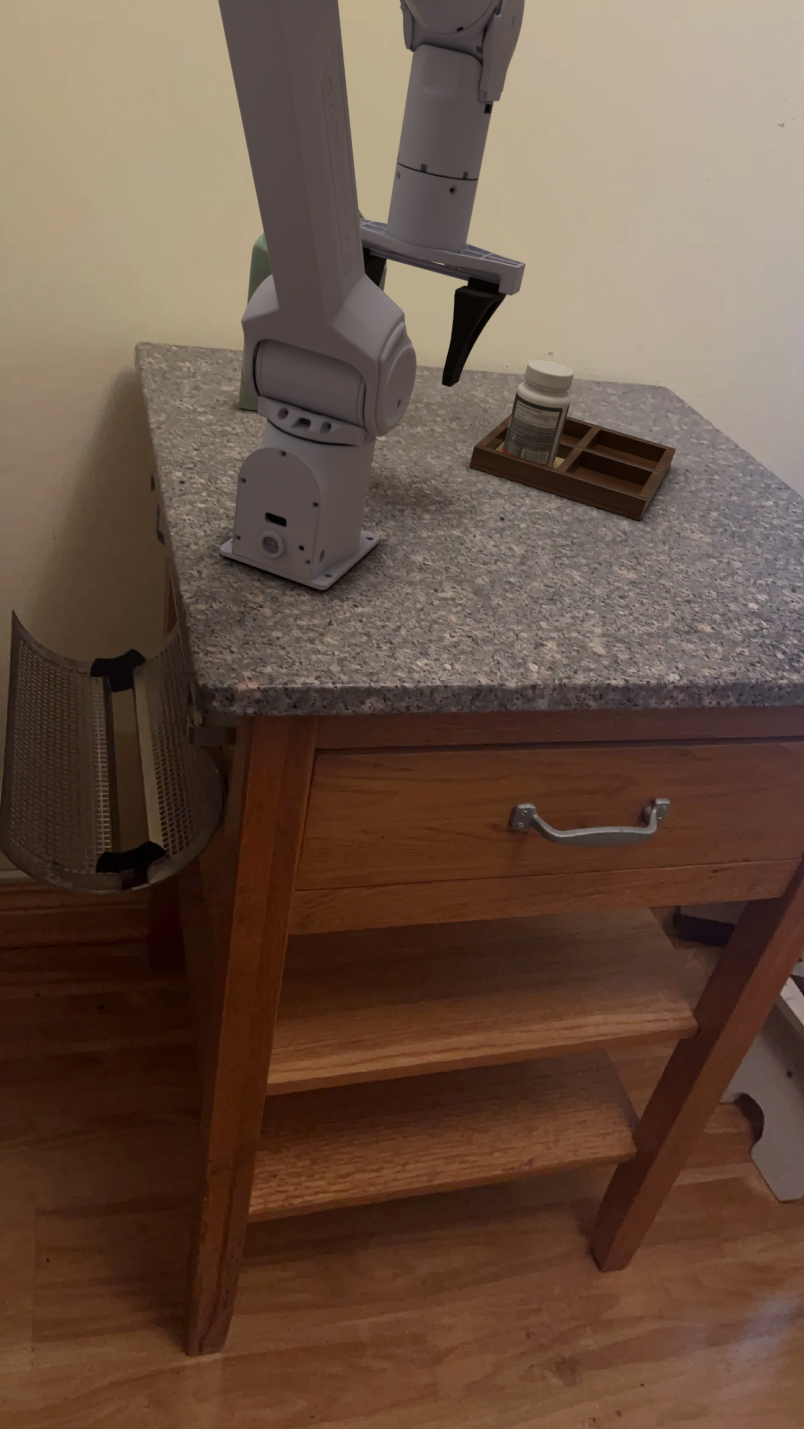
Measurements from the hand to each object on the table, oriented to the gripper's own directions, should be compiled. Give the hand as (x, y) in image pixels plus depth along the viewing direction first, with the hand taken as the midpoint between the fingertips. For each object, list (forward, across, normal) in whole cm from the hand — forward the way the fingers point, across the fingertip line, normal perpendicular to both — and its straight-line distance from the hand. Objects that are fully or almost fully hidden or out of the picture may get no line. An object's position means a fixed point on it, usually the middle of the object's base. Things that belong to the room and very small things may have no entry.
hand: (403, 369), depth 78 cm
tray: (+9, -12, -17) cm, 23 cm away
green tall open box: (+10, +11, -13) cm, 20 cm away
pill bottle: (+9, -8, -13) cm, 18 cm away
